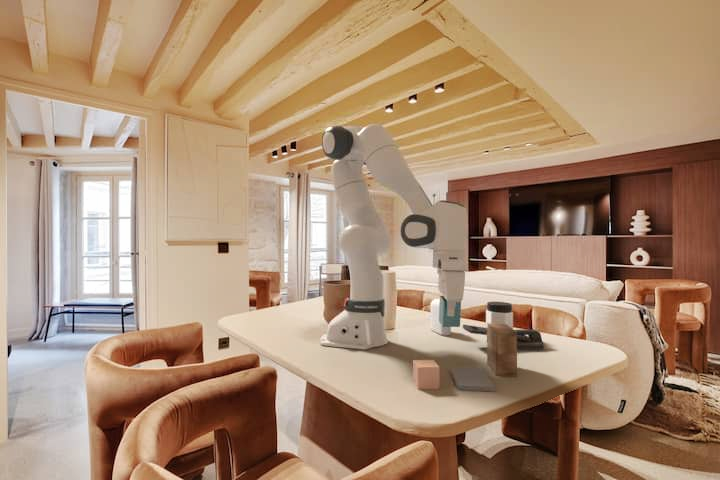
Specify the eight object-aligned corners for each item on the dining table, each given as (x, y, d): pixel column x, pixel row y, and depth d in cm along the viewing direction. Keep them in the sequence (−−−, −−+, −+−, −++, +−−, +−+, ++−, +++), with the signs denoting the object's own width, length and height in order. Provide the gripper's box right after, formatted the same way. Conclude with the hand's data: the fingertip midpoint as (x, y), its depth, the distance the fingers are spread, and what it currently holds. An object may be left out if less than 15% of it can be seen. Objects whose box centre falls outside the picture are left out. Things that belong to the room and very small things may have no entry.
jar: (516, 340, 122) (516, 305, 122) (493, 340, 121) (493, 305, 121) (504, 334, 131) (504, 301, 131) (482, 334, 130) (483, 301, 130)
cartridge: (442, 326, 93) (443, 300, 92) (438, 320, 98) (439, 295, 97) (459, 326, 93) (461, 300, 92) (455, 320, 98) (456, 295, 97)
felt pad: (457, 389, 81) (457, 385, 81) (450, 370, 93) (450, 366, 93) (494, 391, 80) (494, 386, 80) (481, 372, 92) (482, 368, 92)
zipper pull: (460, 323, 118) (532, 323, 120) (459, 343, 118) (532, 342, 120) (470, 330, 109) (548, 329, 111) (470, 352, 109) (548, 351, 111)
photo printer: (428, 329, 137) (429, 297, 137) (439, 329, 138) (439, 296, 138) (441, 336, 127) (441, 301, 127) (452, 335, 128) (452, 301, 128)
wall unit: (496, 375, 89) (496, 331, 89) (486, 363, 99) (486, 323, 99) (517, 376, 89) (517, 332, 89) (506, 363, 98) (506, 323, 98)
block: (417, 389, 81) (417, 367, 81) (412, 381, 86) (412, 360, 86) (439, 389, 81) (439, 367, 81) (433, 380, 86) (433, 359, 86)
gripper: (433, 259, 106) (432, 305, 106) (442, 263, 85) (441, 321, 85) (455, 259, 105) (454, 306, 105) (469, 264, 85) (468, 322, 85)
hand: (448, 313), depth 95 cm, fingers closed on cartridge, 5 cm apart
